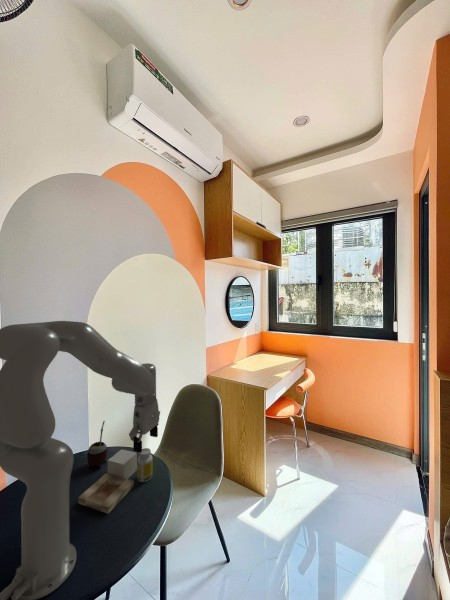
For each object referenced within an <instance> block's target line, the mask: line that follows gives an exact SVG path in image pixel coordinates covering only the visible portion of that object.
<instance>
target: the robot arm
mask: <svg viewBox="0 0 450 600" xmlns="http://www.w3.org/2000/svg"><path fill="white" fill-rule="evenodd" d="M58 352H63V353H68V354H70V355H72V356H73V357H74V358H76V359H77V360H78V361H79V362H80V363H81V364H83V365H85V366H86V367H87V368H88V369H90V370H91V371H92V372H93V373H96V374H98V375H100V376H101V377H102V376H103V377H105V378H110V379H111V387H112V388H113V389H114V390H115V391H117V392H119V393H125V394H130V395H134V406H133V407H134V409H133V418H132V429H131V430H130V431H129V433H128V436H129V438H130V440H131V441H132V442H133V443H132V444H133V447H132V448H133V452H135V453H139V452H140V453H141V452H142V449H143V440H142V438H143V435H144V436H145V435H147V434H148V433H149V437H154V438H158V436H159V433H158V430H159V428H158V426H159V423H160V415H161V411H160V410H159V408H160V407H159V402H158V398H157V368H156V366H155V364H153V363H148V362H147V363H141V362H139V361H138V360H136V359H134V358H132V357H130V356H129V355H127V354H125V353H124V352H122V351H120V350H118V349H116V348H115V347H114V346H113V345H112V344H111V343H109V342H108V340H106V338H104V337H103V336H102V335H101V334H100V333H99V332H98V331H97V330H96V329H95V328H94V327H93V326H91V325H90V324H88V323H86V322H82V321H74V320H72V321H70V320H53V321H45V322H31V323H20V324H19V323H18V324H17V323H16V324H8V325H6V326H3V327H1V328H0V359H1V360H4V361H5V362H4V363H3V365H2V366H1V368H0V468H1V471H3V472H4V473H6V474H7V475H9V476H11V477H13V478H16V479H17V480H19V481H20V482H23V483H24V485H25V486H26V493H25V495H24V497H23V500H22V503H21V509H20V520H21V522H20V523H21V524H20V525H21V528H20V529H21V531H20V532H21V538H20V539H21V540H20V542H21V544H20V547H21V556H20V557H21V559H20V560H21V563H20V564H21V565H20V566H18V567H17V568H16V569H15V570H16V571H15V575H14V578H13V579H12V580H11V583H9V585H8V586H6V587H5V588H4V589H3V590H2V591H1V592H0V600H8V599H9V598H10V597H11V600H39V599H41V598H43V597H46V596H48V595H49V594H51V593H53V592H54V591H55V590H56V589H58V588H59V587H60V586H61V585H62V584H63V583H64V582H65V581H66V580H67V579H68V578H69V576H70V575H71V573H72V572H73V570H74V568H75V565H76V563H77V550H76V547H75V546H74V544H72V543H70V483H71V474H72V471H73V465H74V462H75V461H74V460H75V459H74V458H75V457H74V451H73V449H72V448H71V447H70V446H69V444H67V443H65V442H63V441H62V440H59V439H56V438H53V437H52V436H53V434H54V433H55V429H56V418H55V413H54V412H53V409H52V406H51V404H50V400H49V397H48V394H47V392H46V388H45V383H44V377H45V374H46V371H47V369H48V368H49V366H50V365H51V363H52V362H53V361H54V359H55V358H56V356H57V354H58Z"/></svg>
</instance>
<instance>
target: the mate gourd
mask: <svg viewBox="0 0 450 600" xmlns="http://www.w3.org/2000/svg"><path fill="white" fill-rule="evenodd" d="M105 422H106V420H103V422H102V426H101V429H100V437H99V441H96V442H94V443H92V444H91V445H90V446H89V447H88V449H87V454H86V456H87V464H88V470H91V469H94V468H97V469H98V470H101V469H102V468H101V465H104V464H105V463H106V462H107V459H106V458H107V456H108V455H107V454H108V445H106V443H105V442H104V441H102V439H103V431H104V426H105Z"/></svg>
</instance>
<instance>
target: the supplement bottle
mask: <svg viewBox="0 0 450 600" xmlns="http://www.w3.org/2000/svg"><path fill="white" fill-rule="evenodd" d="M138 453H139V455H138V457H137V470H136V472H137V474H136V475H137V477H136V478H137V481H138V482H140V483H146V482H148V481H150V480H151V479H152V478H153V473H154V471H153V465H154V464H153V455H152V451H151V449H150V448H148V447H146V448H145V447H144V448H142V452H141V453H140V452H138Z"/></svg>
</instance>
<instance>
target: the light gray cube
mask: <svg viewBox="0 0 450 600" xmlns="http://www.w3.org/2000/svg"><path fill="white" fill-rule="evenodd" d="M137 456H138V452H135V451H130V450H127V449H120V450H118V451H117V452H116V453H115V454H114V455H112V456H111V457H110V458H108V460H107V473H109V474H112V475H116V476H119V477H123V478H126V479H129V478H130V477H131V476H133V475H134V473H135V472H137V460H138V457H137Z"/></svg>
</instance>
